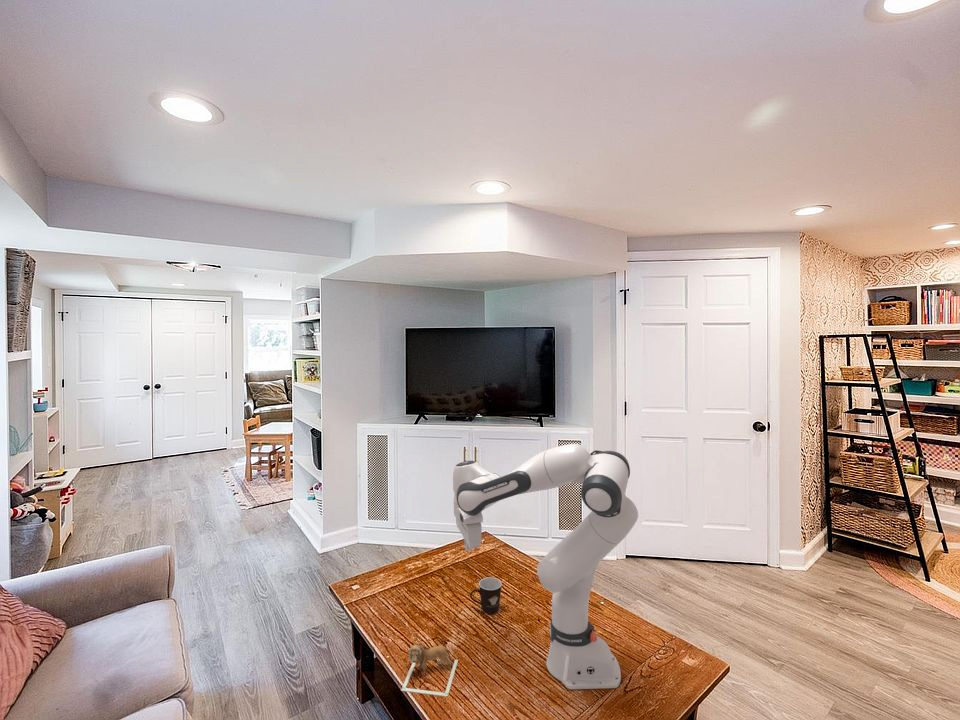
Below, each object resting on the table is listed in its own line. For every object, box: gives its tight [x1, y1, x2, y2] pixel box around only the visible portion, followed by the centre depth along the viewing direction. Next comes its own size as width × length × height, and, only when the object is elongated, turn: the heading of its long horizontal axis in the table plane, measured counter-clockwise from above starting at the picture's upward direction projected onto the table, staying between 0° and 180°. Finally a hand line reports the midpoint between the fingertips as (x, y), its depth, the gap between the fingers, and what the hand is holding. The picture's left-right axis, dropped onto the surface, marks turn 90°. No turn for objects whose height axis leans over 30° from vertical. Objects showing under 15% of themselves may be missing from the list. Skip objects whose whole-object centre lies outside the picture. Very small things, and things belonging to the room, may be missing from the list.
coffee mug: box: [469, 576, 502, 615], centre depth 170 cm, size 12×9×10 cm
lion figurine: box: [408, 644, 455, 675], centre depth 140 cm, size 15×5×9 cm, turn 113°
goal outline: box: [400, 659, 459, 697], centre depth 138 cm, size 14×14×1 cm
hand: (468, 549), depth 152 cm, fingers closed
